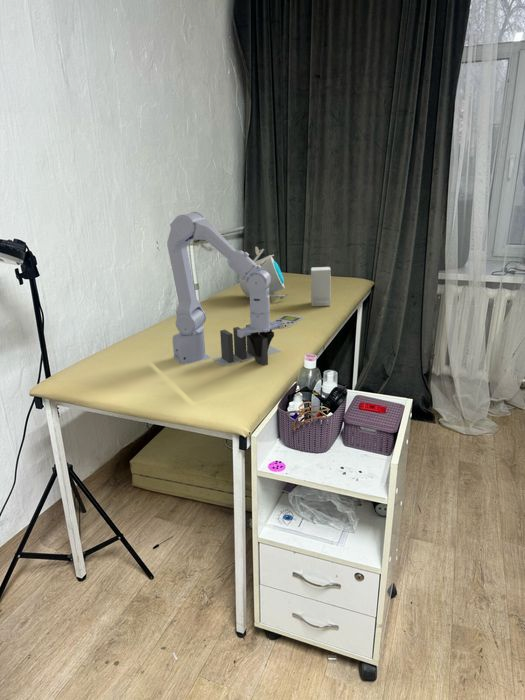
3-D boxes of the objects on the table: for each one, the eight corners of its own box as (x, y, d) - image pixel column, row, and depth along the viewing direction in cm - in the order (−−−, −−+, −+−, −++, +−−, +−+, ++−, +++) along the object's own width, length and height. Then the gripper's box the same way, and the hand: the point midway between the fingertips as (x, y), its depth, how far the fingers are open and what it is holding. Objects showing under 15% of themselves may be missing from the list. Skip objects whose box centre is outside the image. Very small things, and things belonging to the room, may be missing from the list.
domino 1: (229, 363, 145) (227, 334, 141) (221, 357, 149) (220, 330, 145) (233, 361, 145) (232, 333, 142) (226, 356, 149) (224, 329, 146)
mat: (222, 367, 143) (222, 366, 143) (212, 360, 148) (212, 358, 148) (281, 353, 153) (281, 351, 153) (270, 346, 158) (269, 345, 158)
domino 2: (242, 359, 147) (241, 332, 144) (234, 354, 151) (233, 327, 148) (246, 358, 148) (245, 331, 144) (239, 353, 152) (237, 326, 148)
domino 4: (263, 367, 142) (262, 339, 139) (254, 362, 146) (254, 334, 143) (267, 366, 143) (267, 337, 140) (259, 361, 147) (258, 333, 144)
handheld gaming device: (266, 324, 180) (285, 313, 192) (266, 326, 180) (285, 315, 192) (287, 327, 176) (305, 316, 188) (287, 329, 176) (305, 318, 188)
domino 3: (254, 356, 149) (254, 329, 146) (247, 351, 153) (245, 325, 150) (259, 355, 150) (258, 328, 146) (251, 350, 154) (250, 324, 150)
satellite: (231, 257, 221) (228, 272, 198) (270, 239, 217) (271, 253, 195) (251, 299, 230) (251, 319, 207) (290, 283, 226) (293, 301, 204)
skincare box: (330, 302, 207) (331, 266, 202) (330, 306, 201) (331, 269, 196) (310, 302, 208) (311, 266, 203) (310, 306, 202) (311, 269, 197)
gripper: (244, 319, 132) (246, 364, 137) (288, 310, 139) (288, 354, 144) (232, 313, 138) (235, 357, 143) (275, 305, 145) (275, 347, 150)
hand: (261, 355), depth 144 cm, fingers closed on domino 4, 2 cm apart
